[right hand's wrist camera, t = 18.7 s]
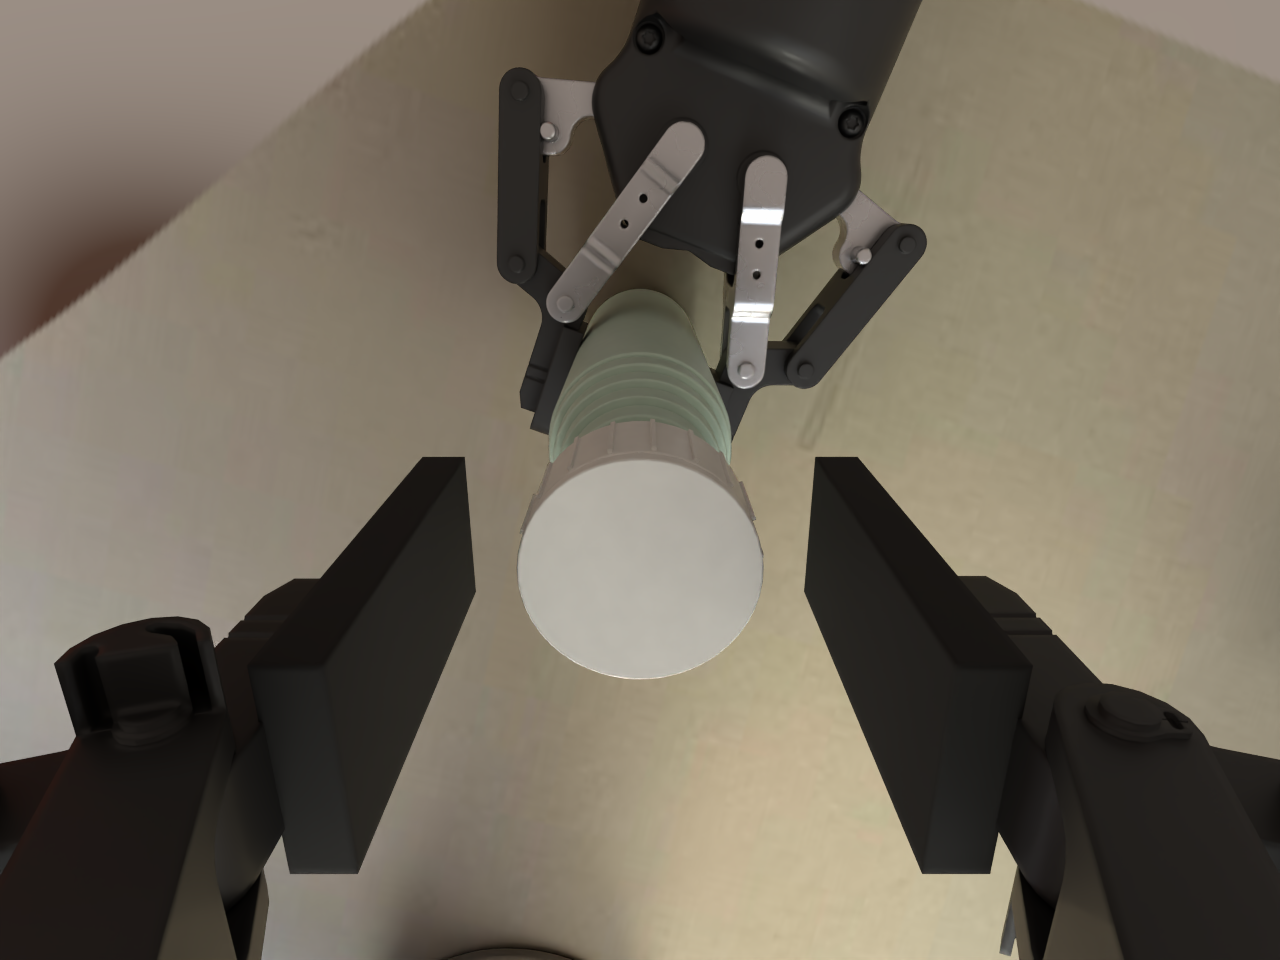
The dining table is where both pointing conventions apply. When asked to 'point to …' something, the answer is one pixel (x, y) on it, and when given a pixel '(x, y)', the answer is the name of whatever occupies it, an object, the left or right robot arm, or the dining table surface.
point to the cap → (640, 552)
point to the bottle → (640, 374)
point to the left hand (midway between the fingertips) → (612, 448)
